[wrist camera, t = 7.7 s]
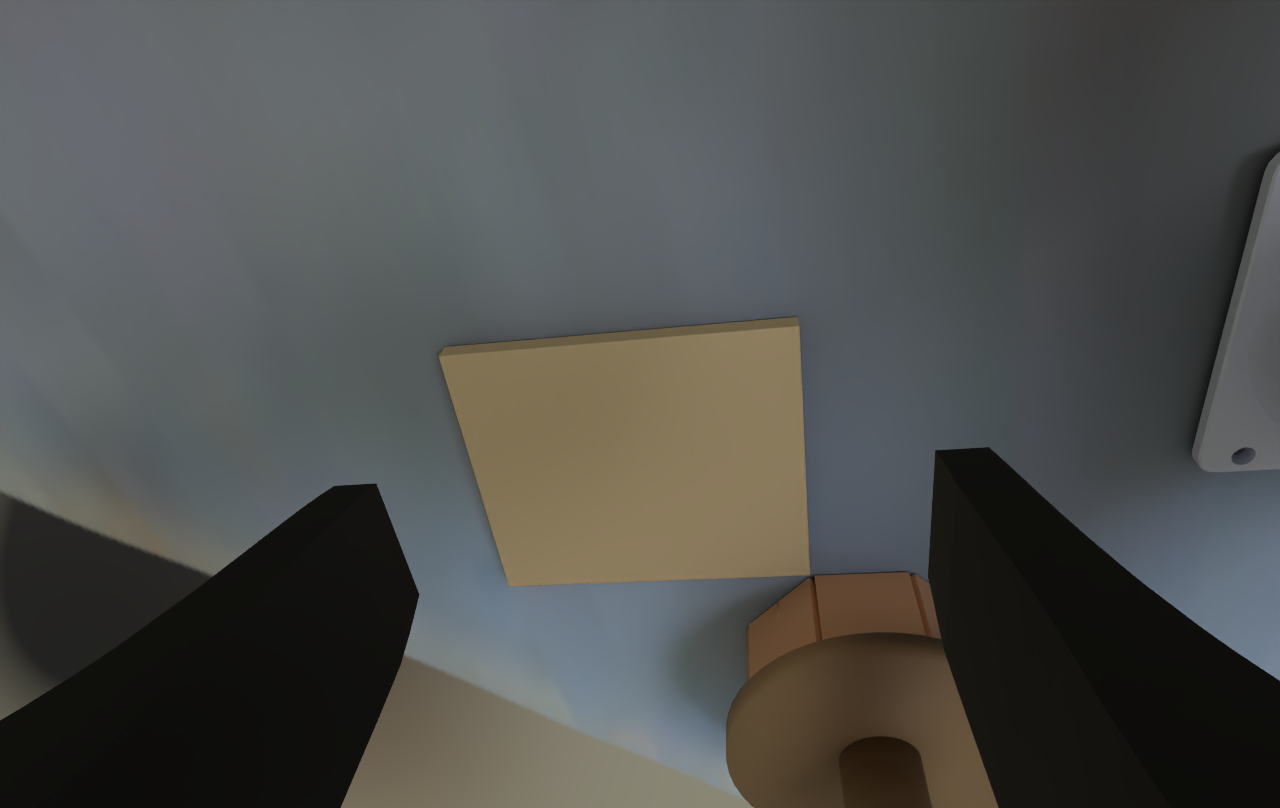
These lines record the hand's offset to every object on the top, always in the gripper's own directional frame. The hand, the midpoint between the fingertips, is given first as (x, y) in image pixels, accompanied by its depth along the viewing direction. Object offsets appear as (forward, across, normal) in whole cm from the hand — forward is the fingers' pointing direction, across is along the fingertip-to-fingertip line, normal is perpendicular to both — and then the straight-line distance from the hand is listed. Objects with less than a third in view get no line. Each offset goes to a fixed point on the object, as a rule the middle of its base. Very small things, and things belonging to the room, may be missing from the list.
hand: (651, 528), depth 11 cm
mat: (+10, +2, +6) cm, 12 cm away
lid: (+7, -4, +14) cm, 16 cm away
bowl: (+10, -4, +14) cm, 18 cm away
